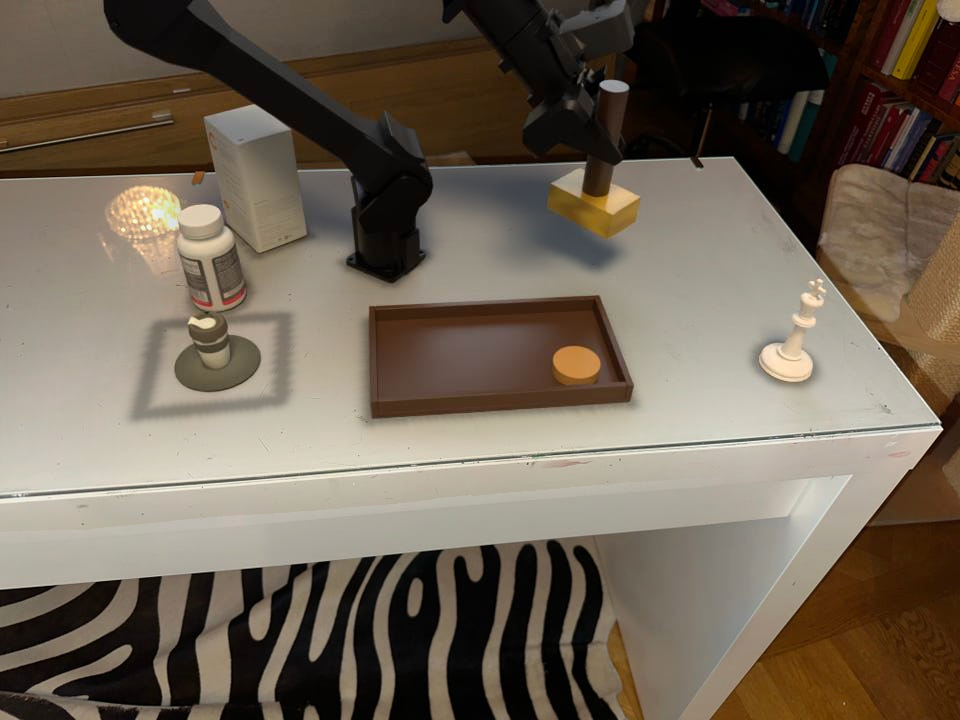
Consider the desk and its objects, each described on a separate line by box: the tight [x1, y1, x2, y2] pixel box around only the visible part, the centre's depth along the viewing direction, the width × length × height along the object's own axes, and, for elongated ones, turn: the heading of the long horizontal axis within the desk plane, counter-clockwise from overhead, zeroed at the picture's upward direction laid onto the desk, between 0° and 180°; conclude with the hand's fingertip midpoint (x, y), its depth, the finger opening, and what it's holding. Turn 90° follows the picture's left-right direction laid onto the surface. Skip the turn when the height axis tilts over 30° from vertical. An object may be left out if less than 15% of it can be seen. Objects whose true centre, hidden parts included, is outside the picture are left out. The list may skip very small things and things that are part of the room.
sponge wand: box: [546, 79, 642, 241], centre depth 75 cm, size 8×5×14 cm, turn 47°
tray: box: [368, 294, 635, 419], centre depth 71 cm, size 23×13×2 cm, turn 97°
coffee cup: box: [173, 311, 261, 392], centre depth 68 cm, size 12×12×5 cm
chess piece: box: [758, 278, 828, 383], centre depth 69 cm, size 5×5×10 cm
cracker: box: [552, 346, 601, 385], centre depth 69 cm, size 4×4×1 cm
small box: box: [203, 103, 308, 254], centre depth 82 cm, size 8×6×13 cm
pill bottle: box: [176, 203, 247, 313], centre depth 74 cm, size 5×5×10 cm
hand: (620, 155), depth 74 cm, fingers closed on sponge wand, 3 cm apart
